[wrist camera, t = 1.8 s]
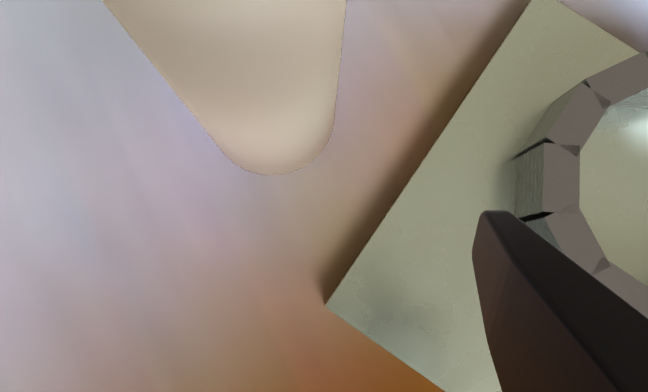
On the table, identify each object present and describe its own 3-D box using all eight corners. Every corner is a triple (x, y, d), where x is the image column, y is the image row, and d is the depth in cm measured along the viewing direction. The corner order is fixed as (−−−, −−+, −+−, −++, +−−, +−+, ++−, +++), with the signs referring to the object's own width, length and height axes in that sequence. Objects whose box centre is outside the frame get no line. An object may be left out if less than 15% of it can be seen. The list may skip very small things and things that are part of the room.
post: (287, 199, 21) (237, 84, 8) (184, 129, 21) (-20, -91, 8) (358, 98, 22) (418, -160, 9) (257, 31, 22) (171, -312, 9)
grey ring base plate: (642, 528, 19) (713, 584, 16) (324, 305, 20) (325, 311, 17) (829, 191, 21) (929, 175, 18) (529, 2, 22) (568, -48, 19)
